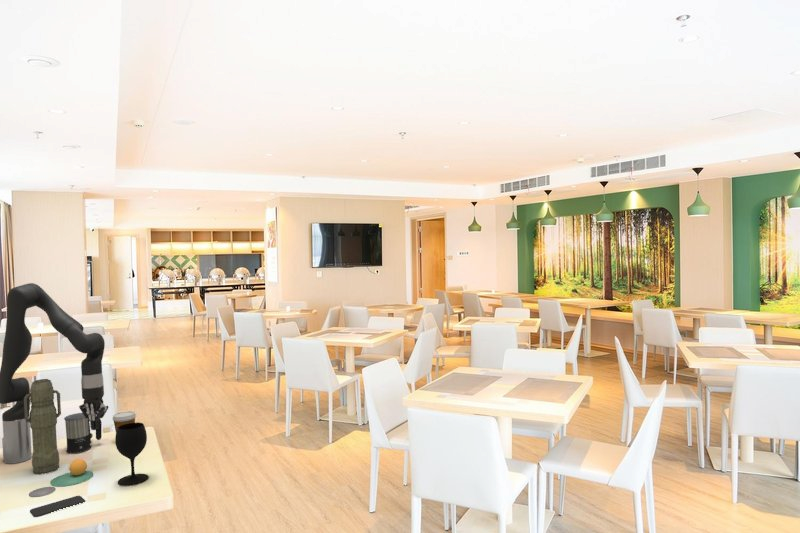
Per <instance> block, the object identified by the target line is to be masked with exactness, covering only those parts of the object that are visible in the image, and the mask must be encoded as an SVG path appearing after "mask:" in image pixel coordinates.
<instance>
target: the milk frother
mask: <svg viewBox="0 0 800 533" xmlns="http://www.w3.org/2000/svg"><path fill="white" fill-rule="evenodd" d="M63 419H64V422H65V423H64V424H65V433H66V453H67V454H78V453H83V452H86V451H88V450H90V449H91V448H92V446H91V443H92V440H91V439H92V438H93V435H94V434H93V433H91V427H90V420H89V419H88V418H87V419H86V418H85V416H84V414H83V413H82V412H78V413H72V414H68V415H67V416H64V418H63ZM102 431H103V430H102V418H100V419H99V428H98V429H97V430H95V439H96V440H97V441H100V440H102Z"/></svg>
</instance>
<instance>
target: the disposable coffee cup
mask: <svg viewBox="0 0 800 533" xmlns="http://www.w3.org/2000/svg"><path fill="white" fill-rule="evenodd" d="M136 417H137V414H136V412H135V411H120V412H117V413H114V414H113V417H112V422H113V423H114V424H113V425H114V430H115V432H116V431H117V428H118V427H119V426H121V425H124V424H128V423H136Z"/></svg>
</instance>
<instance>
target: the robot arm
mask: <svg viewBox="0 0 800 533" xmlns="http://www.w3.org/2000/svg"><path fill="white" fill-rule="evenodd" d="M6 296H7V297H6V322H5V332H4V333H5V334H4V340H3V347H2V357H1V365H0V404H1V405H7V404H11V403H14V405H13V406H11V407H9V409H7V410H6V411H4V412H3V413H2V415H1V420H2V434H3V435H2V436H3V437H2V438H1V441H2V458H3V460H2V461H3V462H4V463H5V464H9V465H10V464H18V463H22V462H26V461H28V460H31V459H32V454H33V451H32V432H31V427H30V423H29V422H26V420H25V410H24V397H25V396H26V395H27V394H29V393H30V388H31V385H30V383H29V380H28V379H27V378H25V377H18V378H17V377H16V378H13V377H14V375H15V374H16V371H17V370H18V369H19V368H20V367H21V365H23V363H25V361H26V360H27V359H28V358H29V356H30V353H31V350H32V342H33V337H32V333H31V332H30V330H29V328H28V326H27V325H26V322H25V320H26V312H27V309H30V308H33V307H37V308H39V309H41V311H43V312H45V314H46V315H47V317H48V319H49V322H50V325H51V326H52V327H53V328H54V329H55V331H57V332H58V333H59V334H61V336H63V337H65V338H67V340H68V341H69V343H70V344H71V345H72V346H73V348H74V349H75V350H77V352H80V353H81V354H86V357H85V358H84V359H82V361H81V363H80V364H81V365H80V366H81V367H80V370H81V377H80V380H81V381H80V383H81V398H82V400H83V403H82V404H80V405H79V406H78V408H79V410H80V411H81V413H83V414H84V416H85V418H86V419H87V418H88V419H89V420H90V421H89V423H90V431H96V430H97V429H98V428H99V419H103V418H104V416H105V414H106V413H107V412H108V409H109V405H105V404H104V400H103V398H104V395H105V387H104V376H103V366H102V362H103V356H104V351H105V346H106V345H105V344H106V343H105V339H104V336H102V334H100V332H99V333H98V332H92V333H88V334H86V333H85V332H84V325H83V324H82V323H80V322H79V321H78V320H77V319H75V318H74V317H72V316H71V315H70V314H68V312H66V311H64V310H63V309H62V308H61V307H60V306H59V304H58V303H57V302H56V301H55V300H54V299H53V298H52V297H51V296H50V295H49V294H48V293H47V292H46V291H45V290H44V289H43V287H41V286H40V285H38V284H36V283H34V282H33V283H32V282H31V283H30V282H29V283H26V284H22V285H18V286H14V287H13V288H10V289H9V291H8V292H7V295H6ZM27 410H28V419H29V418H30V411H31V397H28V398H27Z"/></svg>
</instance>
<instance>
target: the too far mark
mask: <svg viewBox="0 0 800 533" xmlns="http://www.w3.org/2000/svg"><path fill="white" fill-rule="evenodd" d="M56 488H57V487H56V486H45V487H40V488H36V489H33V490H32V491H30V492H29V493H28V496H29V497H31V498H40V497H44V496H48V495H50V494H52V493H54V492H55V491H56Z"/></svg>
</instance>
